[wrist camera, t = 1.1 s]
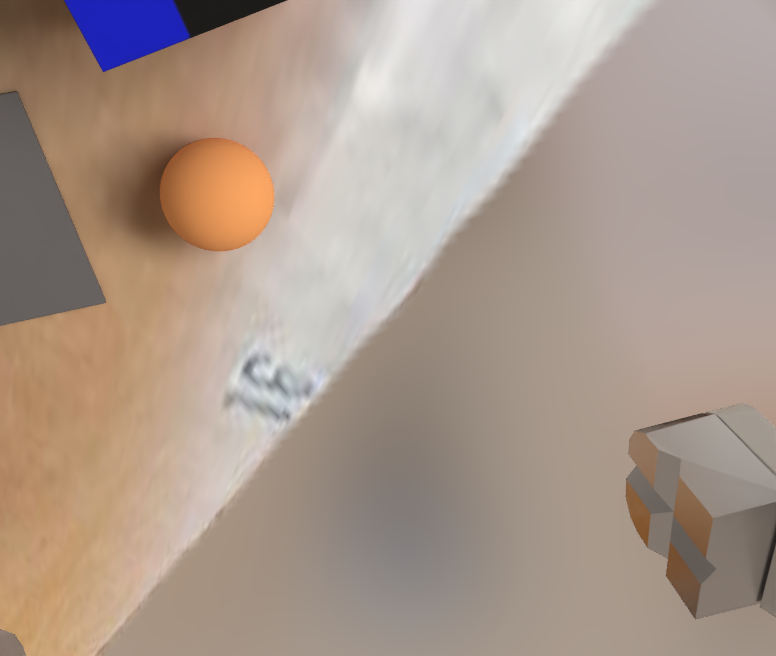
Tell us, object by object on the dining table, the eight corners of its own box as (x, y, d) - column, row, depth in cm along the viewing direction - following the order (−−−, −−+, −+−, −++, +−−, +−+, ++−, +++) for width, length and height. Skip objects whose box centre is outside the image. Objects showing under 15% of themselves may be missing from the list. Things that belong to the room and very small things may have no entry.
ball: (148, 134, 36) (139, 174, 32) (256, 113, 37) (264, 150, 32) (180, 232, 39) (177, 281, 35) (279, 211, 40) (289, 257, 35)
